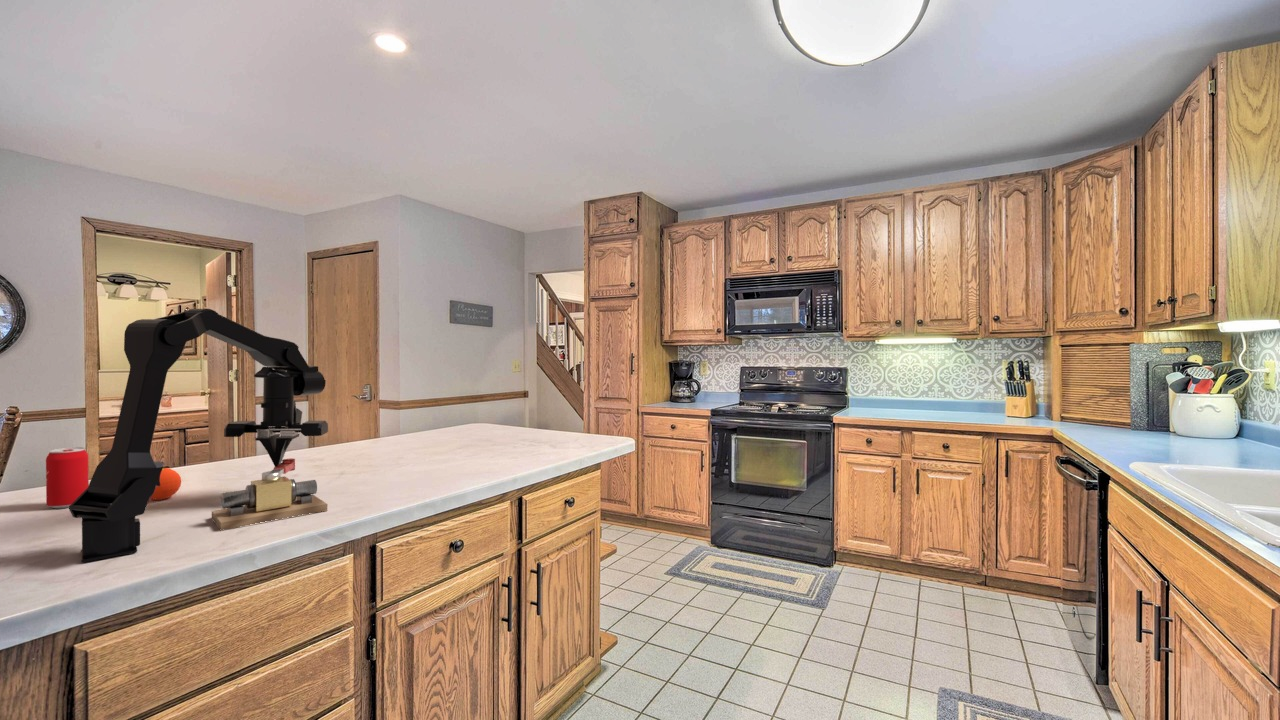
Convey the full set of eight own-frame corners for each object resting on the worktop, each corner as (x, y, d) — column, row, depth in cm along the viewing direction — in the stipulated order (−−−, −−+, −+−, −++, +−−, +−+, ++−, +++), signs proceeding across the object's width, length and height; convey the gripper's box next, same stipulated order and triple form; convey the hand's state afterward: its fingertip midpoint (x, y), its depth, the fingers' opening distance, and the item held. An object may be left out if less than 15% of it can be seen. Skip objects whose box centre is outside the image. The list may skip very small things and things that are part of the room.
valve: (225, 518, 104) (225, 490, 103) (220, 512, 107) (220, 485, 107) (318, 502, 115) (318, 476, 115) (311, 497, 119) (311, 472, 119)
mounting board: (220, 530, 101) (221, 522, 101) (211, 518, 108) (211, 511, 108) (327, 511, 114) (327, 504, 114) (313, 501, 121) (313, 494, 121)
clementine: (158, 505, 116) (158, 472, 116) (126, 504, 116) (126, 471, 116) (189, 495, 124) (189, 464, 124) (159, 494, 124) (159, 464, 124)
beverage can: (83, 499, 119) (83, 445, 119) (93, 504, 116) (92, 448, 116) (42, 506, 114) (41, 450, 114) (50, 511, 111) (50, 453, 111)
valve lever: (277, 483, 110) (277, 471, 110) (259, 484, 109) (259, 472, 109) (298, 468, 123) (298, 458, 123) (282, 469, 122) (282, 458, 122)
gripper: (335, 394, 131) (334, 458, 131) (246, 393, 126) (245, 460, 126) (321, 399, 120) (319, 468, 120) (223, 398, 115) (222, 471, 115)
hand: (277, 466), depth 121 cm, fingers closed
